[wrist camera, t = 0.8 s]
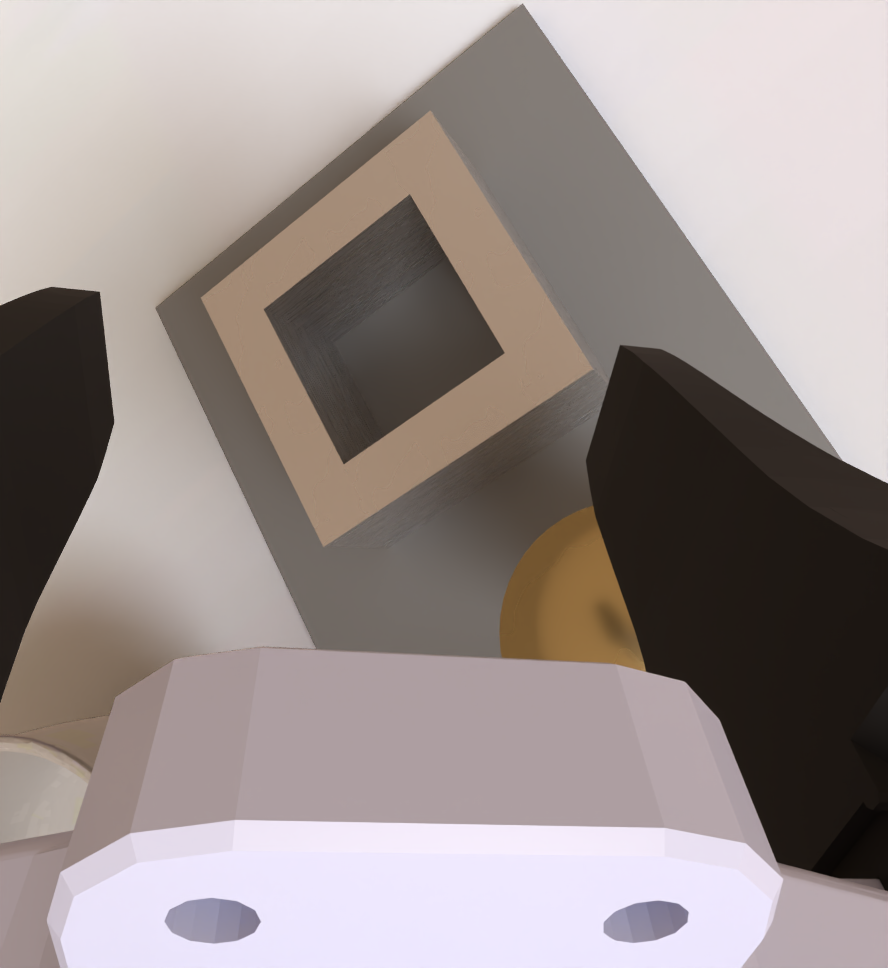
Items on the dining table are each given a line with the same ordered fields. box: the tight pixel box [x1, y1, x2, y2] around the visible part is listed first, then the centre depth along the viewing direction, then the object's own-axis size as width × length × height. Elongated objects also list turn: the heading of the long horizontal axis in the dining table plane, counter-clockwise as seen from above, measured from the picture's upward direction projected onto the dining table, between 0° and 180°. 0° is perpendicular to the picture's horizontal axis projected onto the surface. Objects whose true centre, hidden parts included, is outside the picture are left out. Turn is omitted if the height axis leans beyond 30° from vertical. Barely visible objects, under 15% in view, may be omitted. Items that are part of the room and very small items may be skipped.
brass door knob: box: [499, 506, 646, 672], centre depth 19 cm, size 5×5×8 cm
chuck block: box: [201, 110, 610, 548], centre depth 24 cm, size 8×8×4 cm
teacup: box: [0, 715, 110, 843], centre depth 24 cm, size 14×11×8 cm
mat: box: [156, 4, 842, 658], centre depth 25 cm, size 23×16×1 cm
